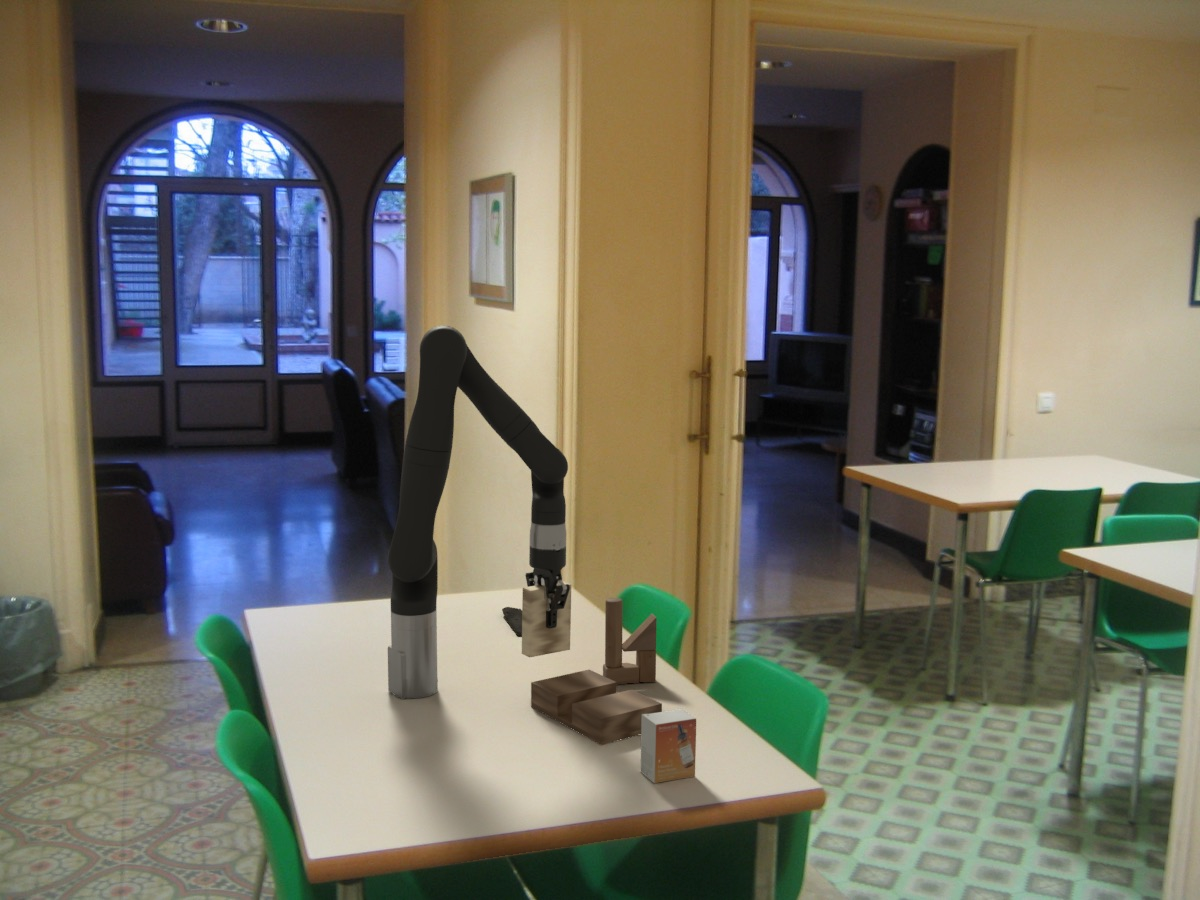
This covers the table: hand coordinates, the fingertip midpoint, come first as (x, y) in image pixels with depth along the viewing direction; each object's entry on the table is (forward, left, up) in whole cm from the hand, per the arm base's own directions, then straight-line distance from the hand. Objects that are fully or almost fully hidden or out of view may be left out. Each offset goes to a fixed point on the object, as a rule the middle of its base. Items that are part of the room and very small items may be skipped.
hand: (546, 625), depth 245 cm
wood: (+20, +42, -14) cm, 48 cm away
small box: (-7, -49, -13) cm, 51 cm away
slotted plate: (-2, -20, -13) cm, 24 cm away
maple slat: (0, 0, -6) cm, 6 cm away
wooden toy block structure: (+16, -7, -13) cm, 22 cm away
